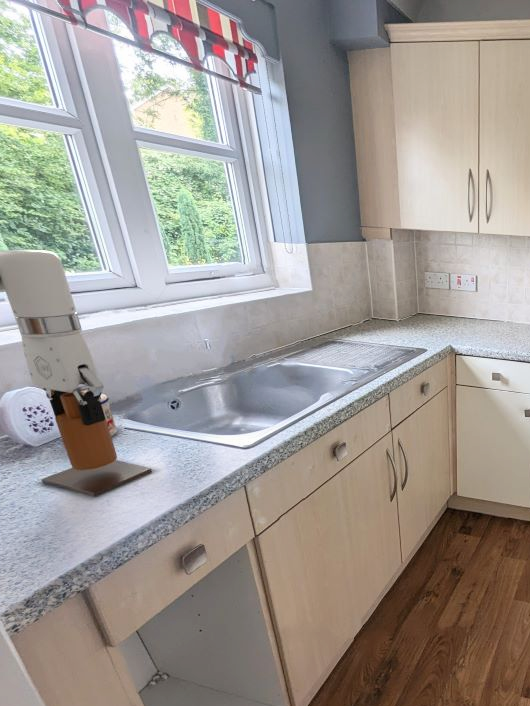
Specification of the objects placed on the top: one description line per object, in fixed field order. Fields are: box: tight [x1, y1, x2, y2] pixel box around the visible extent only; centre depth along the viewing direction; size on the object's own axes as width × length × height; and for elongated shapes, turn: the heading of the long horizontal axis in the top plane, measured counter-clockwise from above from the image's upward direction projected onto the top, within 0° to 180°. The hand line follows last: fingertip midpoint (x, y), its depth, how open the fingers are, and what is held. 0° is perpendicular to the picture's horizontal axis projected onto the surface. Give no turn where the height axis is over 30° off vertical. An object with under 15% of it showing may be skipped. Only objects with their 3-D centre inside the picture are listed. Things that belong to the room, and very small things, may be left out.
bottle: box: [54, 390, 118, 470], centre depth 85 cm, size 6×6×14 cm
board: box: [41, 459, 153, 498], centre depth 88 cm, size 14×10×1 cm
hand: (81, 419), depth 84 cm, fingers closed on bottle, 6 cm apart
